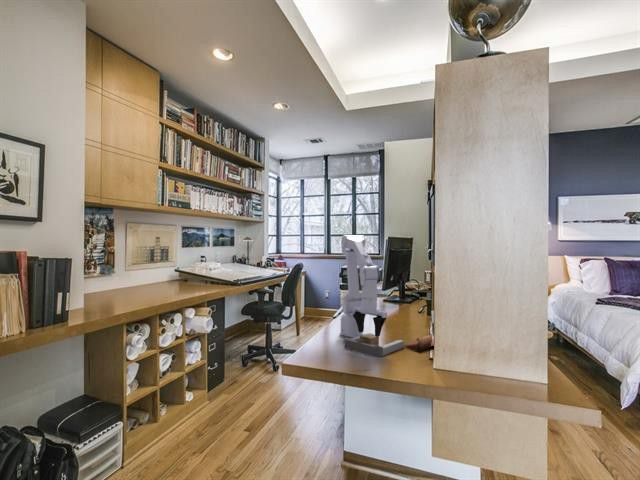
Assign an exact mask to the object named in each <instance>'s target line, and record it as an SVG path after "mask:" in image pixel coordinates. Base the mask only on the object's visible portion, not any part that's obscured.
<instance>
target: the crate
mask: <svg viewBox="0 0 640 480" xmlns="http://www.w3.org/2000/svg"><path fill="white" fill-rule="evenodd" d="M369 333H370V332H368V333H364V335H361V336H360V341H361V342H365V343H368V344H372V345H376V346H380V344H379V343H380V336H378V337H376V336H375V334H373V333H371V334H369Z"/></svg>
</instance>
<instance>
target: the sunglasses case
mask: <svg viewBox="0 0 640 480" xmlns="http://www.w3.org/2000/svg"><path fill="white" fill-rule="evenodd" d="M432 335H433V334H429V335H426V336H421V337H418V338H416V339H415V340H412V341H410V342H408V343H404V348H405V349H407V350H410V351H411V350H412V351H413V350H414V352H418V353H420V352H422V351H424V350H427V349H429V348H431V347H430V346H431V342H432Z"/></svg>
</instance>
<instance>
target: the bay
mask: <svg viewBox="0 0 640 480" xmlns="http://www.w3.org/2000/svg"><path fill="white" fill-rule="evenodd" d="M368 333H369V334H372V333H371V332H368ZM343 343H344V344H343V345H344V348H346V349H350V350H353V351H357V352H359V353H360V352H361V353H363V354H367V355H371V356H374V357H378V358H381V357H383V356H386V355H388V354H391V353H393V352H395V351H399V350H401V349H403V348H404V345H405V343H404V340H401V339H398V340H394V341H391V342H389V343H387V344H384V345H381V346H380V345H379V346H376V345H372V344H368V343H365V342H361V341H360V336H358V337H355V338H352V337H347V338H344V342H343Z"/></svg>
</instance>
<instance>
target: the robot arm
mask: <svg viewBox="0 0 640 480" xmlns="http://www.w3.org/2000/svg"><path fill="white" fill-rule="evenodd" d="M340 244H341V245H340V246H341V253H342V255H343V256H344V257H345V260H346V273H347V275H346V276H347V289H348V292H347V293H345V295H344V296H343V297H342V305H341V306H342V308H341V309H342V312H343V314H342V315H341V317H340V332H339V335H340V336H345V337H347V338H355V337H358V336H361V335H364V334H365V333H364V330H365V318H366V316H367V315H369V316H374V317H372V320H373V324H374V335H375V336H376V337H378V336H379V337H380V336H381V334H382V333H381V332H382V329H383V326H384V324H385V322H386V320H387V318H388V311H385V310H380V309H378V281H379V279H380V276H381V275H380V274H381V272H380V268H379V265H376V264H374V262H373V261H372V258H371V256H370V255H369V253H366V250H365V247H366V237H365V236H364V234H361V235H357V234H355V235H354V234H353V235H351V234H343V235H342V236H341V243H340ZM359 278H360V279H359ZM359 280H360V281H359ZM359 282H360V283H359ZM359 284H360V285H361V292H360V285H359Z"/></svg>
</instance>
